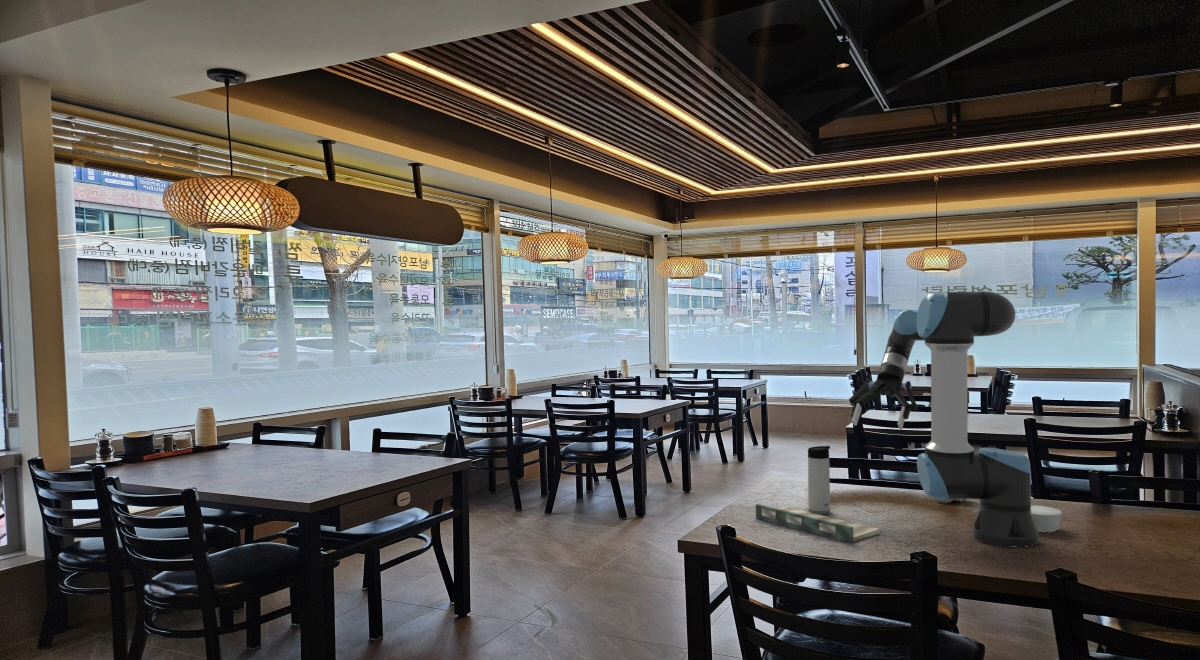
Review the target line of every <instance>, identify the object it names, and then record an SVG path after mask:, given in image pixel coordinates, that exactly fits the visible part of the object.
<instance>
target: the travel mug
mask: <svg viewBox="0 0 1200 660" xmlns="http://www.w3.org/2000/svg"><path fill="white" fill-rule="evenodd" d="M830 450H831V446H830V445H818V446H811V447H808V449H807V485H808V486H807V487H808V488H807V491H808V495H807V496H808V500H807V501H808V503H807V504H808V512H810V513H814V514H818V515H822V516H825V515H829V514H830V513H831V489H830V488H831V487H830V486H831V485H830V484H831V483H830V482H831V481H830V478H831V476H830V473H831V472H830V469H831V468H830V452H829V451H830Z"/></svg>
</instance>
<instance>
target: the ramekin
mask: <svg viewBox="0 0 1200 660" xmlns="http://www.w3.org/2000/svg"><path fill="white" fill-rule="evenodd" d="M1031 514H1032V516H1033V519H1034V522H1035V524H1036V527H1037V530H1038V531H1046V532H1047V531H1056V530H1058V529H1059V530H1060V525H1061V521H1062V517H1063V512H1062V511H1061V510H1060V509H1057V508H1055V507H1050V506H1045V505H1032V504H1031ZM1059 530H1058V531H1059Z"/></svg>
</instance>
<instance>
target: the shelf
mask: <svg viewBox="0 0 1200 660" xmlns="http://www.w3.org/2000/svg"><path fill="white" fill-rule="evenodd" d="M755 518H756V519H758V520H762V521H766V522H769V523H773V524H777V525H781V526H784V527H790V528H792V529H797V530H801V531H804V532H809V533H811V534H816V535H818V536H819V535H820V536H823V537H826V538H831V539H834V540H838V541H843V542H847V543H854V542H858V541H861V540H863V539H867V538H870V537H873V536H876V535H878V534H880V533H881V532H880V530H881V529H880V528H877V527H873V526H868V525H864V524H860V523H856V522H851V521H847V520H843V519H838V518H835V517H832V516H831V517H830V516H826V515H819V514H814V513H810V512H809V511H806V510H805V511H804V510H802V509H801V510H800V509H796V508H792V507H787V506H781V507H778V508H777V507H773V506H768V505H764V504H759V503H758V504H757V503H756V504H755Z"/></svg>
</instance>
